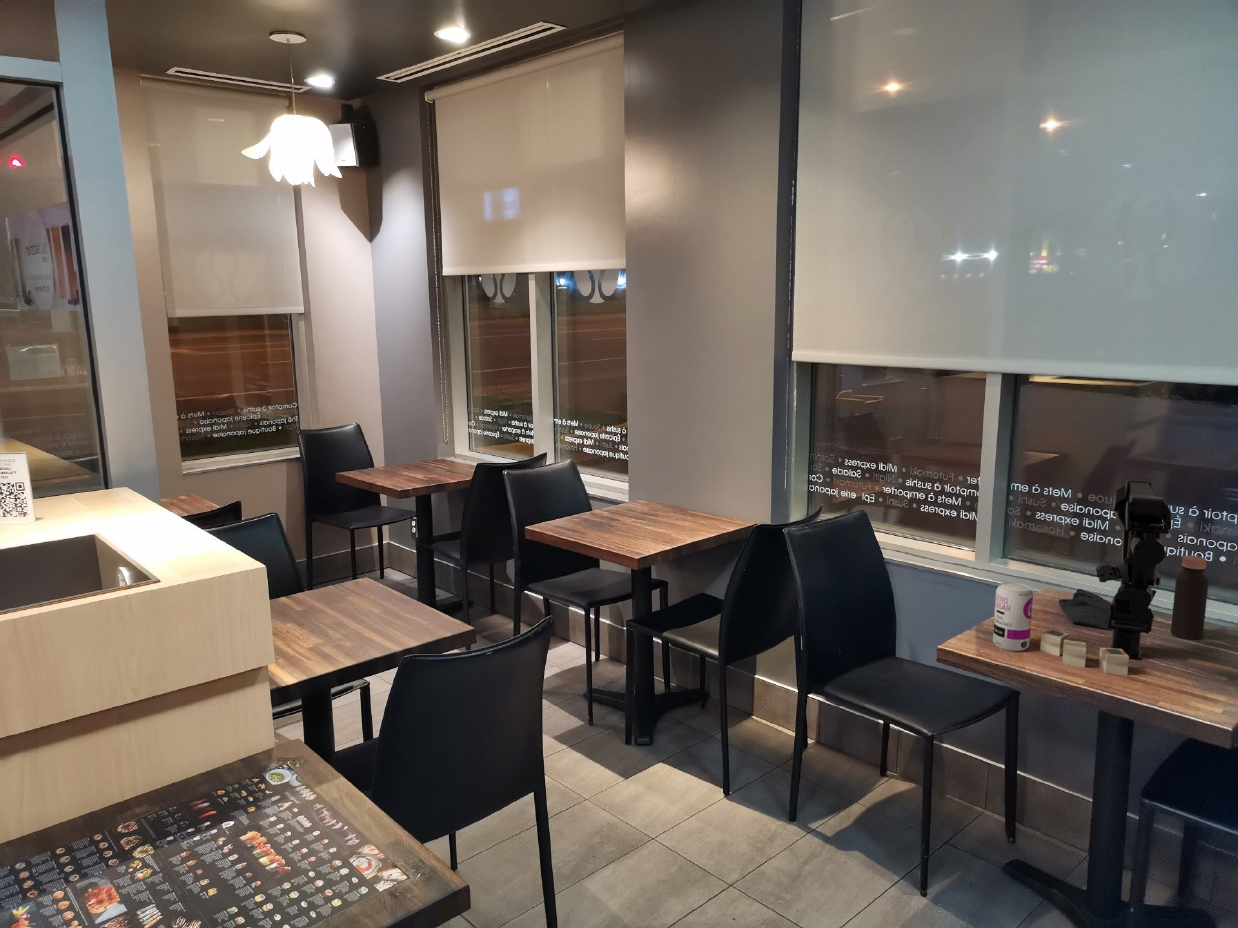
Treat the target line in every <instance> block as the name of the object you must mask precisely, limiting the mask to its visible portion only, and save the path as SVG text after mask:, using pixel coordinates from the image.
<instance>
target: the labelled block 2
mask: <svg viewBox="0 0 1238 928" xmlns="http://www.w3.org/2000/svg"><path fill="white" fill-rule="evenodd" d="M1098 658H1099V659H1098V667H1099V668H1100V670H1101V671H1102V672H1103V673H1104V674H1105V675H1119V676H1120V675H1121V676H1128V671H1129V659H1130V658H1129V656H1128V655H1127V654H1126V653H1125V652H1124V651H1123V650H1122V649H1114V648H1110V647H1100V648H1099V656H1098Z"/></svg>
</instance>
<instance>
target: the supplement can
mask: <svg viewBox="0 0 1238 928" xmlns="http://www.w3.org/2000/svg"><path fill="white" fill-rule="evenodd" d="M1033 600H1034V592H1032V589H1031V587H1030V586H1028V585H1026V584H1024V583H1020V582H1001V583H1000V584H999V585H998V587H997V588H996V591H995V600H994V601H995V603H994V604H995V605H994V614H993V616H994V618H993V632H992V642H993V644H994V645H995V646H996V647H997V648H1000V649H1002V650H1006V651H1010V652H1021V651H1026V650H1027V649H1028V648H1029V647H1030V643H1031V631H1032V617H1033V604H1034V603H1033Z"/></svg>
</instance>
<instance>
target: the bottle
mask: <svg viewBox="0 0 1238 928" xmlns="http://www.w3.org/2000/svg"><path fill="white" fill-rule="evenodd" d="M1181 561H1182V562H1181V566H1182V567H1181V568H1182V571H1180V572H1179V573H1177V574H1176V577H1175V584H1174V597H1173V606H1172V612H1171V613H1172V616H1171V625H1170V633H1171V634H1172V635H1173V636H1175V637H1177V638H1180V639H1186V640H1201V639H1202V638H1203V636H1204V629H1205V627H1204V626H1205V621H1206V620H1205V619H1206V612H1207V611H1206V609H1207V601H1208V593H1209V592H1208V591H1209V584H1210V580H1209V578H1208V577H1207V576H1206V575H1205V573H1204V571H1206V568H1207V559H1206V558H1204V557H1202V556H1197V555H1184V556H1182V560H1181Z"/></svg>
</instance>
